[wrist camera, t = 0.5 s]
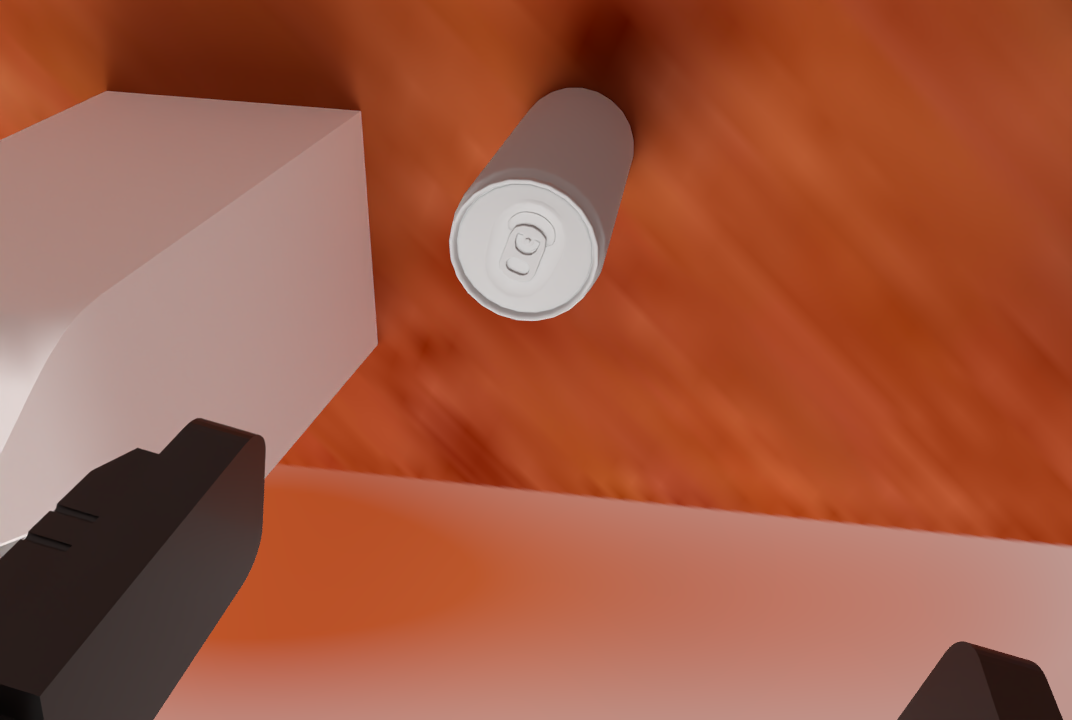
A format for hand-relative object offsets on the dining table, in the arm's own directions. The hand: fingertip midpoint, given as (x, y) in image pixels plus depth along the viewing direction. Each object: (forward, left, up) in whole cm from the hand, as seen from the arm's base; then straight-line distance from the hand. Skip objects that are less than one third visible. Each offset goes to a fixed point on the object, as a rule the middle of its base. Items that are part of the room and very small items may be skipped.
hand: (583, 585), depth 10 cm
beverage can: (+4, -2, -28) cm, 28 cm away
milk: (+15, -14, -28) cm, 35 cm away
